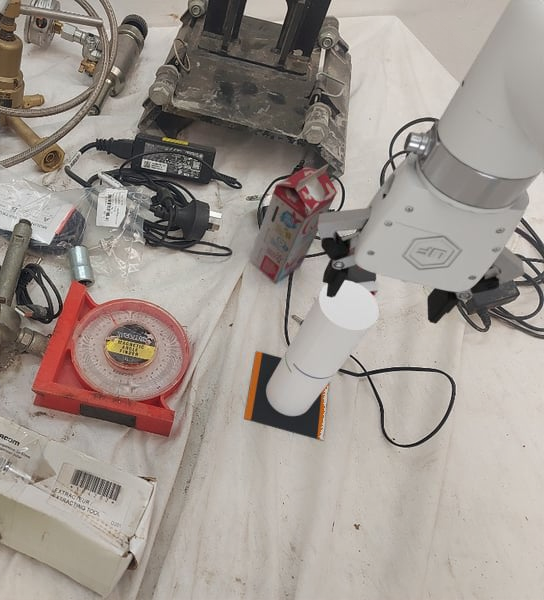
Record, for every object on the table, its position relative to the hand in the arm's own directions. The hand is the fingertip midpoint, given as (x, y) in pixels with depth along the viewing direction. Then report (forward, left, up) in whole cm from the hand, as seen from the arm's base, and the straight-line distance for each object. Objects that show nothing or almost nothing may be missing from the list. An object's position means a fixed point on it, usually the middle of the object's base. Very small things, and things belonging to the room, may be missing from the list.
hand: (380, 298), depth 56 cm
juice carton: (+24, -22, -36) cm, 48 cm away
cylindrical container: (+4, -6, -36) cm, 36 cm away
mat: (+4, -6, -36) cm, 36 cm away
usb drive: (+15, -33, -36) cm, 51 cm away
